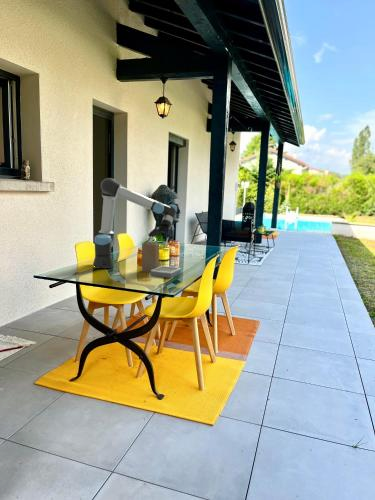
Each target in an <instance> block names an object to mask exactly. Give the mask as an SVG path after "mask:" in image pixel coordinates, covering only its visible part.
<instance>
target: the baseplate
mask: <svg viewBox="0 0 375 500" xmlns="http://www.w3.org/2000/svg"><path fill="white" fill-rule="evenodd" d="M180 273H181V274H182V268H181V267H174V266H167V265H161V266H160V265H159V267H158V268H155V269H153V270H151V272H150V276H152V277H159V278H160V277H161V278H169V279H173V278H174V277H176V276H178V274H179V275H181V274H180Z"/></svg>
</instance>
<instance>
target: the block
mask: <svg viewBox="0 0 375 500" xmlns="http://www.w3.org/2000/svg"><path fill="white" fill-rule="evenodd" d="M141 261H142V262H141V271H142V272H144V273H151V270H153V269H155V268H158V267H160V242H157V241H155V242H154V241H152V242H149V241H145V242H144V243H142V244H141Z"/></svg>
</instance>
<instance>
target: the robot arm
mask: <svg viewBox="0 0 375 500" xmlns="http://www.w3.org/2000/svg"><path fill="white" fill-rule="evenodd" d="M100 189H101V197H102V199H103V200H102V202H103V203H102V211H101V212H102V214H101V226H100V230H99V231H98V234H97V235H95V236H94V260H93V262H92V266H93V265H94V266H95V267H99V268H108V269H112V268H114V267H115V263H114V260H113V257H112V248H113V247H114V245H115V232H114V229H113V227H114V216H115V205H116V204H115V203H116V199H117V198H118V197H119V198H121V199H123V200H126V201H129V202H130V203H133V204H135V205H138V206H140V207H143V208H145V209H147V210H150V211H152V212H154V213H155V214H161V215H163V217H162V219H161V222H160V225H159V226H158V225H155V227H154V228H153V229H152V230H151V231H150V232H149V233H148V234H147V235H148V237H149V238H148V242H153V240H154V237H156V236H157V235H159V234H167V238H166V239H165V240H166V241H165V242H164V246H165V248H167V247H168V244H170V242H171V240H174V239H175V236H174V228H173V226H172V223H173V222H174V219H175V217H176V214H177V212H178V208H177V206H176V205H174V204H168V205H167V204H164V203H162V202H160V200H156V199H153V198H149V197H147V196H145V195H142V194H141V193H138V192H136V191H134V190H131V189H129V188H127V187H125V186H123V185H122V184H120V182H118V181H117V180H116V179H115V178H111V177H106V178H104V179H102V181H101V182H100ZM169 231H170V233H169Z"/></svg>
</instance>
